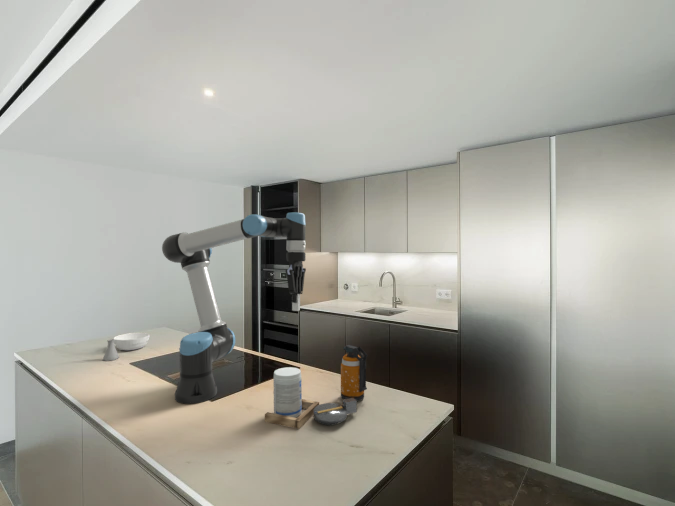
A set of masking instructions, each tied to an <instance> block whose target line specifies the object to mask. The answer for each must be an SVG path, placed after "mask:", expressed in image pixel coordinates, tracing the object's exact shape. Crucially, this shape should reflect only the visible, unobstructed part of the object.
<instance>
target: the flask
mask: <svg viewBox="0 0 675 506" xmlns="http://www.w3.org/2000/svg"><path fill="white" fill-rule="evenodd" d="M114 341H115V339H113V338H111V339H108V340H107V341H106V342H107V347H106V350H105V352H104V355H103V357H102V361H105V362H107V361H108V362H109V361H115V360H118V359H119V358H120V355H119V352H118V351H117V347H116V344H114Z"/></svg>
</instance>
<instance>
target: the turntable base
mask: <svg viewBox="0 0 675 506" xmlns="http://www.w3.org/2000/svg"><path fill="white" fill-rule="evenodd" d="M321 424H322V425H325V426H336V425H338V424H339V423H337V424H323V423H321Z"/></svg>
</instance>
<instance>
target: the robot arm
mask: <svg viewBox="0 0 675 506" xmlns="http://www.w3.org/2000/svg"><path fill="white" fill-rule="evenodd" d="M306 226H307V224H306V215H305V214H304V213H302V212H297V211H295V212H287V213H286V217H282V218H278V217H277V218H275V217H274V218H273V217H267V216H264V215H261V214H257V213H256V214H249V215H247V216H245V218H243V219H239V220H234V221H230V222H228V223H224V224H220V225H216V226H212V227H208V228H205V229H201V230H198V231H194V232H190V233H188V232H186V231H185V232H184V231H183V232H180V233H175V234H171V235H169V236H167V237H166V238H165V240H164V241H163V243H162V246H161V250H162V254H163V256H164V257H165V258H166V259H167V260H168V261H170V262H171V263H177V264H178V263H179V264H180V267H181V269H182V270H183V271H185V272H186V275H187V278H188V281H189V285H190V290H191V294H192V297H193V301H194V305H195V308H196V309H195V310H196V313H197V316H198V321H199V324H200V327H199V329H198V331H197V332H194V333H193V332H192V333H189V334H187V335H185V336H183V337H182V338H181V340H180V342H179V349H178V350H179V379H178V383H177V386H176V389H175V393H174V400H175V401H176V402H177V403H180V404H196V403H198V404H199V403H202V402H206V401H208V400H211V399H212V398H214V397H216V395H217V394H218V387H217V384H216V382H215V378H214V375H213V362H215V361H217V360H219V359H221V358H223V357H226V356H227V355H228V354H230V353H231V352H232V351H233V349H234V348H235V345H236V336H235V333H234V331H233V330H231V328H229V327H228V325H227V322H226V321H224V320H222V317H221V312H220V310H219V306H218V303H217V298H216V294H215V290H214V286H213V283H212V279H211V275H210V272H209V271H210V270H209V268H208V267H209V265H210V264H211V260H210V258H211V255H212V251H213V249H212V248H216V247H220V246H223V245H227V244H231V243H235V242H236V243H237V242H240V241H243V240H247V239H252V238H256V237H261V238H279V237H284V238H285V237H286V251H287V252H286V261H287V262H289V264H288V268H287V269H285V275H286V280H287V287H288V288H287V289H288V294H289V295H291V311H293V312H299V311H300V310H301V295H303V292H304V284H305V274H306V270H307V269H306V267H305V268H304V265H303V262H305V261H306V252H305V251H306V245H307V243H306Z"/></svg>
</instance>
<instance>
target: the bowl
mask: <svg viewBox="0 0 675 506" xmlns="http://www.w3.org/2000/svg"><path fill="white" fill-rule="evenodd" d="M150 334H151V333H148V332H130V333H129V332H127V333H124V334H119V335H116V336H114V337H113V338H112V339H115V341H114V345H115V348H116V349H118V350H121V351H134V350H139V349H141V348H143V347H145V346H146V345H147V344H148V342H149V339H150V337H151V336H150Z"/></svg>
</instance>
